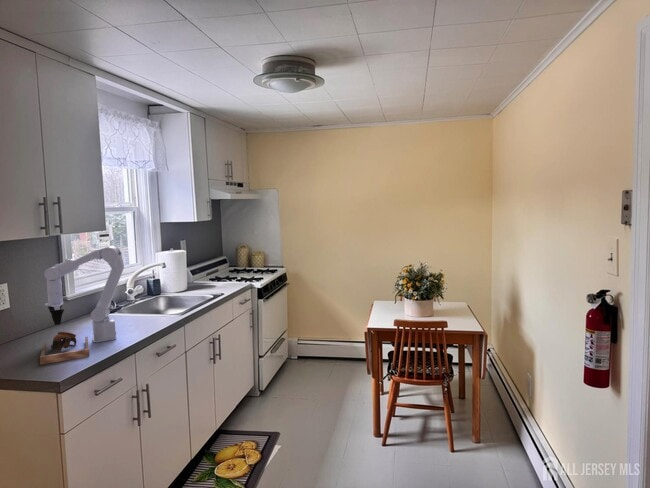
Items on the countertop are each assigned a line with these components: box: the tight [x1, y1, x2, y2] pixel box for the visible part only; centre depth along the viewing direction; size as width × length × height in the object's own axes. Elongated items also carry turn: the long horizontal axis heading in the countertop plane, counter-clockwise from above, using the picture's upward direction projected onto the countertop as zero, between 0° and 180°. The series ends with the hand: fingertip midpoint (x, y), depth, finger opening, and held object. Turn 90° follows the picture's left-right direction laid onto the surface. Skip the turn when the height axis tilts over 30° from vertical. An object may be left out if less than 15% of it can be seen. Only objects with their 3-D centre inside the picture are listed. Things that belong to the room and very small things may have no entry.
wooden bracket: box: [39, 336, 90, 365], centre depth 185 cm, size 17×23×3 cm
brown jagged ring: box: [50, 331, 77, 352], centre depth 191 cm, size 12×10×8 cm
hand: (56, 322), depth 196 cm, fingers open, 7 cm apart
